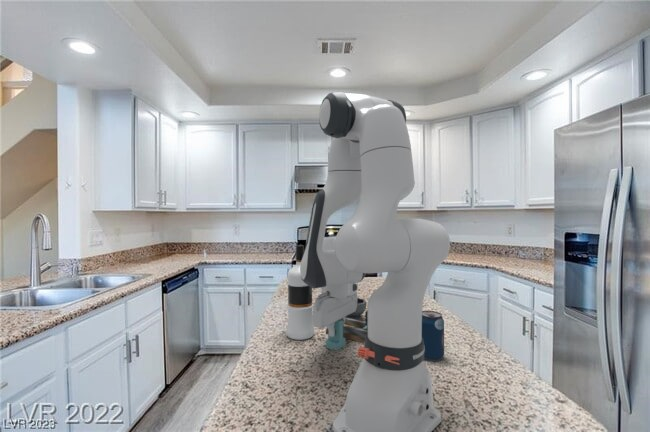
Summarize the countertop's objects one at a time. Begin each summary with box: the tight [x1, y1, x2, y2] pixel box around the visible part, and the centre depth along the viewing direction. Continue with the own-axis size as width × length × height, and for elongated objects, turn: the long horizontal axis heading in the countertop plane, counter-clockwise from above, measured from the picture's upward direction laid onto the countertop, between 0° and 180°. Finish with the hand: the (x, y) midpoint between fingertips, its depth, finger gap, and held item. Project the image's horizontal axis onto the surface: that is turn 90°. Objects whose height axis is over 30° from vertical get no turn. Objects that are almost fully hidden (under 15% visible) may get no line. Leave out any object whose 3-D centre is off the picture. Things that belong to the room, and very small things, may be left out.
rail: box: [325, 310, 368, 344], centre depth 103 cm, size 18×9×10 cm, turn 56°
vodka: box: [285, 244, 315, 341], centre depth 103 cm, size 9×9×30 cm
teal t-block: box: [325, 319, 347, 351], centre depth 94 cm, size 5×4×8 cm
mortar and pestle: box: [345, 297, 367, 321], centre depth 120 cm, size 11×9×12 cm
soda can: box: [422, 310, 445, 362], centre depth 87 cm, size 7×7×12 cm
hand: (336, 333), depth 95 cm, fingers closed on teal t-block, 3 cm apart
